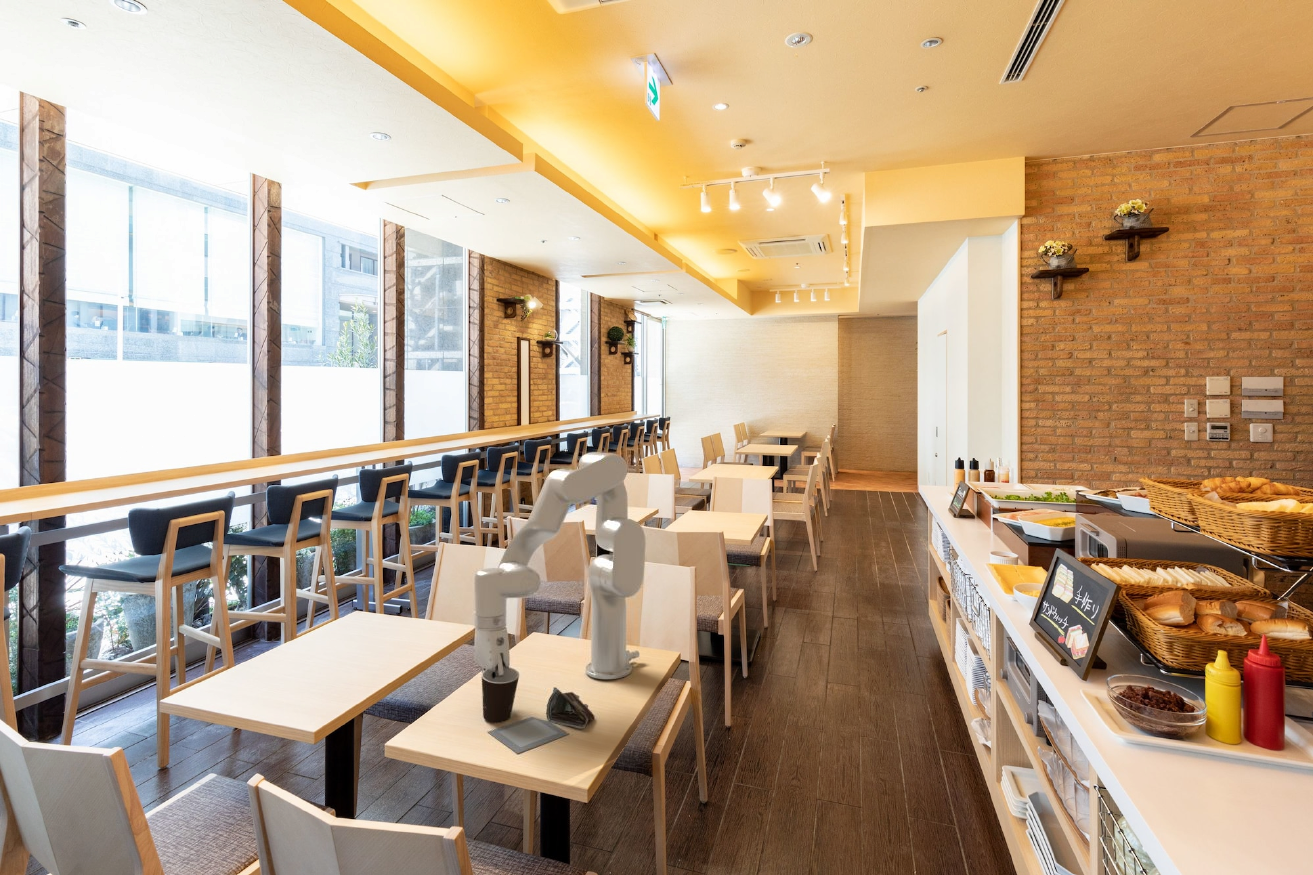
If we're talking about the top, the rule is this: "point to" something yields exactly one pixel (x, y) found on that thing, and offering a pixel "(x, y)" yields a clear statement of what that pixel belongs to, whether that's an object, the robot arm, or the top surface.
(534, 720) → the mat
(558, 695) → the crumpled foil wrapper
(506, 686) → the coffee mug
